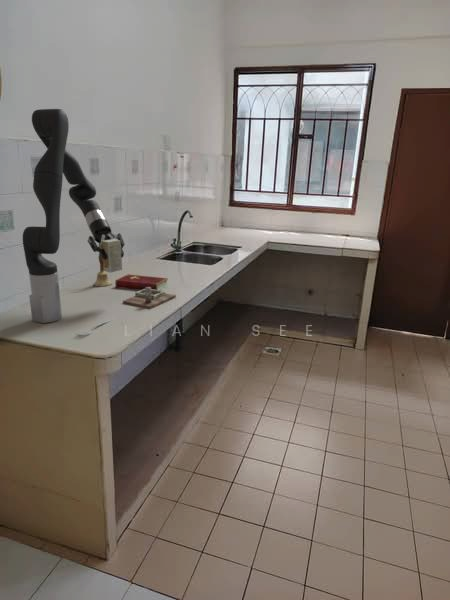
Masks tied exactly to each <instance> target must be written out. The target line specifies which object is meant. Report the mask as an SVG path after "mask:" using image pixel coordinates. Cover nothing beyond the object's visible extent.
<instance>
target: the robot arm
mask: <svg viewBox="0 0 450 600" xmlns="http://www.w3.org/2000/svg"><path fill="white" fill-rule="evenodd" d="M69 123H70V122H69V117H68V115H67V113H66V112H65V110H64V109H60V108H41V109H35V110H34V111H33V112H32V115H31V124H32V127H33V129H34V131H35V134H36V135H37V137H38V138H39V139H40V141H41V142H42V143H43V145H44V146H45V147H46V151H45V152H44V154H42V156H41V158H40V159H39V160H38V162H37V164H36V165H35V167H34V171H33V183H32V188H33V192H34V194H35V196H36V198H37V199H38V200H37V201H39V203H40V205H41V207H42V209H43V212H44V214H45V226H27V227H26V228H24V230H23V233H22V246H23V251H24V258H25V264H26V267H27V269H28V275H29V276H28V277H29V281H30V292H31V294H30V295H29V296H28V297H29V305H30V306H29V307H30V311H31V312H30V314H31V320H32V322H36V323H41V324H46V323H51V322H52V323H54V322H58V321H59V320H61V319H62V318H63V315H62V305H61V304H62V303H61V294H60V283H59V276H58V275H59V273H58V265H57V263H55V262H54V261H50V260H48V259H47V258H45V257H44V256H43V255H44V254H45V255H54V254H56V253H57V252H58V250H59V247H60V239H61V238H60V237H61V235H60V234H61V233H60V232H61V231H60V229H61V227H60V221H61V219H60V216H61V215H60V213H61V212H60V211H61V199H62V190H63V179H64V177H65V179H66V181H67V183H68V184H69V185H73V186H71V187H70V188H69V190H68V195H69V197H70V199H71V200H72V201H73V203H74V204H75V205H76V206H78V208H79V209H80V211H81V213H82V215H83V217H84V219H85V221H86V225H87V226H88V228H89V230H90V233H91V234H92V235H90V236H88V239H87V243H88V244H89V246H90V248H91V249H92V251H93V252H94V253H98V254H99V253H100V255H101V257H102V258H103V259H104V260H106V259H107V255H106V253H105V251H104V249H103V246H102V243H101V241H105V240H111V239H117V240H120V243H121V258H122V259H123V257H124V255H125V251H124V250H123V248H124V246H125V241H124V239H123V236H122V235H121V233H120V232H119V233H117V234H114V233H113V231H112V227H111V226H110V224H109V222H108V220H107V219H106V217H105V215H104V213H103V212H102V210H101V207H100V206H99V204H98V202H97V200H94V198H95V197H96V195H97V189H96V188H95V185H93V183H92V182H91V181H90V180H89V179H88V178H87V177H86V176H85V173H84V172H83V169H82V168H81V165H80V163H79V161H78V160H77V159H76V157H75V156H74V155H73V153H71V152H70V151H68V150H67V148H66V146H67V142H68V135H69V128H70V127H69ZM96 242H97V243H98V244H97V243H96ZM42 254H43V255H42Z"/></svg>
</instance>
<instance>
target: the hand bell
mask: <svg viewBox="0 0 450 600" xmlns="http://www.w3.org/2000/svg"><path fill="white" fill-rule="evenodd" d="M98 262H99V265H100V266H99V272H98V273H96V274H97V275H96V280H95V282H93V285H94V286H95V287H109V286H111V285H113V283H112V281H111V280H110V279H109V275H108V272H106V271H104V268H103V258H102V257H101V255H100V253H99V252H98Z"/></svg>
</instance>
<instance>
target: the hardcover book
mask: <svg viewBox="0 0 450 600" xmlns="http://www.w3.org/2000/svg"><path fill="white" fill-rule="evenodd" d="M168 280H169V278H167V277H159V276H149V275H140V274H139V275H138V274H132V273H131V274H129V273H127V274H126V275H123V276H121V277H119V278H117V279H115V284H114V285H115V288H118V289H130V290H138V291H140V290H143V289H145V288H146V287H151V289H154V290H160V291H161V290H162V289H164V288H165V287H167V286H168Z"/></svg>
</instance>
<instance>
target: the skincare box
mask: <svg viewBox="0 0 450 600" xmlns="http://www.w3.org/2000/svg"><path fill="white" fill-rule="evenodd" d="M101 243H102V246H103V249H104V251H105V253H106V255H107V259H106V260H104V259H103V268H104V272H106V273H115V272H119V271H123V260H122V259H123V257H122V258H121V243H120V240H117V239H115V238H114V239H111V240H105V241H101Z"/></svg>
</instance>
